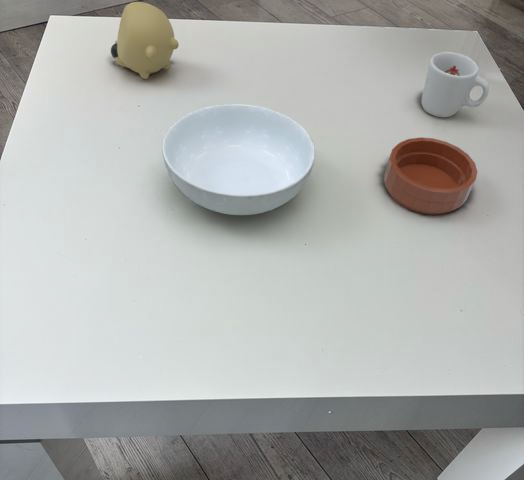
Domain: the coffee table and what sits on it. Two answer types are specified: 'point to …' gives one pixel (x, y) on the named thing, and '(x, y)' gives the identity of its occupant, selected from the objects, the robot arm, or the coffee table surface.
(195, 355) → the coffee table surface
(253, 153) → the serving bowl
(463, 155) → the bowl
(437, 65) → the cup
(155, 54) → the toy pig
